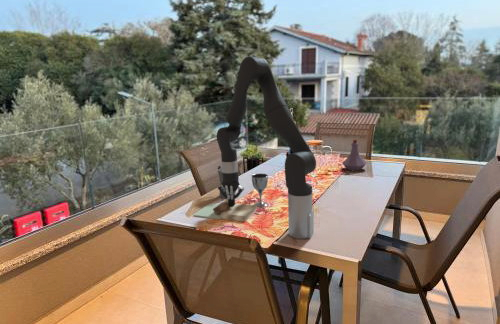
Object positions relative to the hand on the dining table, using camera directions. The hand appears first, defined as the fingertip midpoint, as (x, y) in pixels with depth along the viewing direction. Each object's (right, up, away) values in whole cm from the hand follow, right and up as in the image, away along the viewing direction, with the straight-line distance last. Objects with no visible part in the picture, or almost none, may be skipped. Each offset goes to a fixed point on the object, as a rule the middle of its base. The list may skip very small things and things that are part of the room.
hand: (231, 206), depth 156 cm
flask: (+79, +16, +70) cm, 106 cm away
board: (+3, -4, -1) cm, 5 cm away
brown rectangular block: (-4, 0, +1) cm, 4 cm away
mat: (-9, -3, +4) cm, 10 cm away
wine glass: (+14, -1, +11) cm, 18 cm away
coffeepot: (-4, +2, +27) cm, 27 cm away
